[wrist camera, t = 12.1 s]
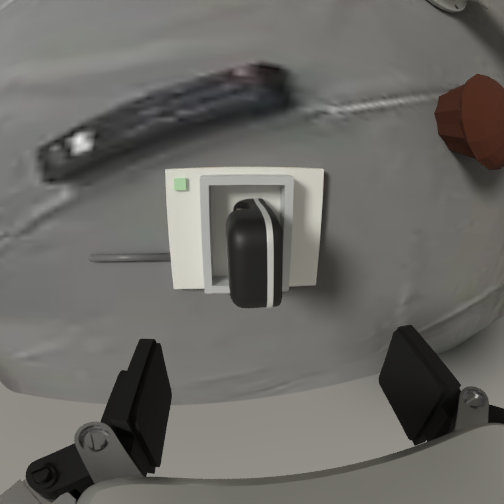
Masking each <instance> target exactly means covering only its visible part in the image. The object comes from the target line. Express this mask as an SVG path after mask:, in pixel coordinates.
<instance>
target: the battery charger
mask: <svg viewBox="0 0 504 504" xmlns="http://www.w3.org/2000/svg"><path fill="white" fill-rule="evenodd" d="M226 247H227V265H228V281H229V288H230V295H231V299H232V301H233V302H234V304H236V305H237V306H238V307H241V308H260V307H266V308H272V307H275V306H279V305H280V303H281V300H282V276H283V237H282V228H281V224H280V222H279V220H278V218H277V216H276V215H275V213H274V212H273V211H272V209H271V208H270V207H269V206H268V205H267V204H266V203H265V201H264V200H263V199H261V198H253V199H244V200H241V201H239V202H237V203H236V204H235V205H234V208H233V212H231V213H230V214H229V216H228V218H227V220H226Z"/></svg>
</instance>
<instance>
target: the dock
mask: <svg viewBox="0 0 504 504" xmlns="http://www.w3.org/2000/svg"><path fill="white" fill-rule="evenodd" d="M165 173H166V198H167V216H168V231H169V244H170V253H158V254H107V255H90V256H89V260H90V261H91V262H104V261H171V266H172V276H173V285H174V289H205V293H230V288H229V281H228V265H227V247H226V220H227V218H228V216H229V214H230V213H231V212H233V208H234V205H235V204H236V203H237V202H239V201H241V200H244V199H253V198H261V199H263V200H264V201H265V203H266V204H267V205H268V206H269V207H270V208H271V209H272V211H273V212H274V213H275V215H276V216H277V218H278V220H279V222H280V224H281V228H282V237H283V276H282V291H289V286H311V285H316V278H317V268H318V257H319V245H320V232H321V217H322V200H323V180H324V169H321V168H298V167H198V168H176V169H166V170H165Z"/></svg>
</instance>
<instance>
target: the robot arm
mask: <svg viewBox="0 0 504 504" xmlns="http://www.w3.org/2000/svg"><path fill="white" fill-rule="evenodd" d="M428 1H429V2H430V3H432V4H433V5H435V6H437V7H438V8H440V9H442V10H445V11H447V12H451V13H457V12H460V11H462V10H463V9H465V7H466V4H467V1H469V0H428ZM470 1H472V2H476V3H477V4H479V5H480V6H482V7H483V8H485V9H488V8H489V7H490V2H489V1H488V0H470ZM379 384H380V386H381V388H382V390H383V392H384V393H385V395H386V397H387V399H388V401H389V403H390V404H391V406H392V408H393V410H394V412H395V414H396V416H397V418H398V420H399V421H400V423H401V425H402V427H403V429H404V431H405V433H406V435H407V437H408V439H410V440H412V441H413V443H414V445H417V446H415V447H412V448H409V449H406V450H403V451H400V452H397V453H393V454H390V455H387V456H383V457H380V458H376V459H372V460H369V461H364V462H360V463H356V464H352V465H347V466H343V467H338V468H333V469H328V470H322V471H316V472H309V473H302V474H294V475H286V476H276V477H264V478H247V479H188V478H167V477H146V475H147V473H153V474H154V473H155V467H160V464H161V457H162V452H163V446H164V439H165V433H166V427H167V422H168V416H169V410H170V405H171V399H172V392H171V388H170V384H169V379H168V375H167V371H166V366H165V362H164V357H163V353H162V348H161V344H160V343H156V341H155V339H140V340H139V342H138V345H137V347H136V350H135V352H134V355H133V357H132V360H131V362H130V365H129V367H128V370H127V371H124V370H122V371H120V373H119V375H118V377H117V380H116V382H115V385H114V387H113V390H112V392H111V395H110V398H109V400H108V403H107V406H106V409H105V411H104V414H103V417H102V419H101V422H90V423H86V424H84V425H83V426H81V427H80V428H79V429H78V430H77V432H76V434H75V438H74V441H75V443H74V444H72V445H70V446H68V447H66V448H63V449H61V450H59V451H57V452H54V453H52V454H50V455H48V456H45V457H43V458H40V459H38V460H36V461H34V462H32V463H31V464H30V465H29V466H28V468H27V471H26V479H25V480H24V481H23V482H22V481H21V480H19V481H17V482H16V483H15V484H14V485H12V487H10V488H9V489H8V490H6V491H5V492H4V493H3V494H2V495H0V504H504V409H503V408H499V407H496V406H493V405H489V401H488V397H487V395H486V394H485V392H484V391H482V390H481V389H479V388H477V387H466V388H464V389H463V390H462V391H461V390H460V389H459V388H460V386H461V384H460V383H459V382H458V381H457V379H456V378H455V377H454V375H453V374H452V373H451V372H450V370H449V369H448V368H447V367H446V365H445V364H444V363H443V362H442V361H441V359H440V358H439V357H438V356H437V354H436V353H435V352H434V351H433V350H432V348H431V347H430V346H429V345H428V344H427V342H426V341H425V340H424V339H423V338H422V337H421V335H420V334H419V333H418V332H417V331H416V330H415V328H414V327H413V326H412V325H407V326H400V327H398V328H397V330H396V331H394V333H393V336H392V340H391V343H390V346H389V349H388V352H387V355H386V358H385V361H384V364H383V367H382V370H381V373H380V375H379ZM426 440H427V442H426V443H423V442H425V441H426ZM420 443H423V444H420ZM418 444H420V445H418Z"/></svg>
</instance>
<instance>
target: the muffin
mask: <svg viewBox="0 0 504 504" xmlns="http://www.w3.org/2000/svg"><path fill="white" fill-rule="evenodd" d="M434 114H435V117H436V121H437V126H438V134H439V136H440V137H441V138H442V139H443V140H444V141H445V143H446V145H447V147H448V148H449V150H451V151H454V152H458V153H461V154H463V155H466V156H469V157H472V158H475V159H476V160H477V161H479V162H480V163H481V164H482V165H484V166H485V167H486V168H487V169H489V170H493V169H500V168H501V167H503V166H504V88H503V87H502V86H501V85H500V84H499V83H498V82H497V81H495V80H493V79H491V78H490V77H488V76H484V75H480V74H476V75H475V76H473V77H472V78H470V79H469V80H467V82H466V84H464V85H462V86H460V87H457V88H455V89H452V90H450V91H449V92H448V93H446V94H444V95H441V96H439V100H438V105H437V108H436V111H435V113H434Z"/></svg>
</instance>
